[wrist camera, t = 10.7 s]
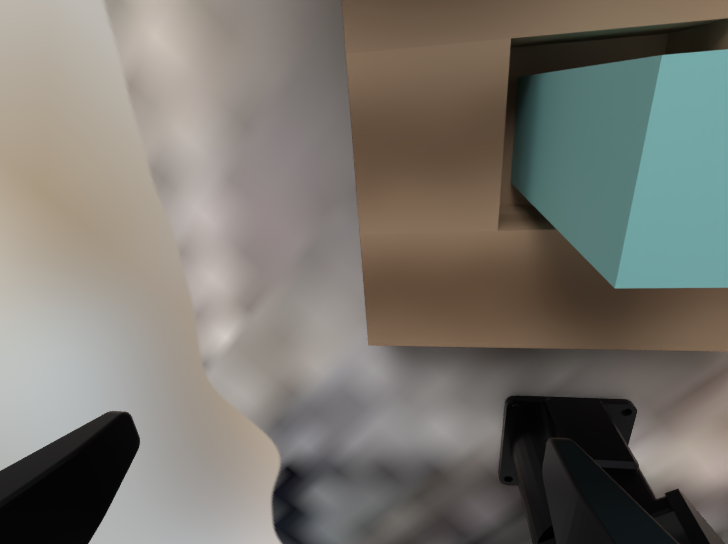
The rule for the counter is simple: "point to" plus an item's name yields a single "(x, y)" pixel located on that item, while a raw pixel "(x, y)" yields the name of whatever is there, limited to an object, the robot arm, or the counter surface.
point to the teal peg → (632, 165)
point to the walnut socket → (496, 175)
